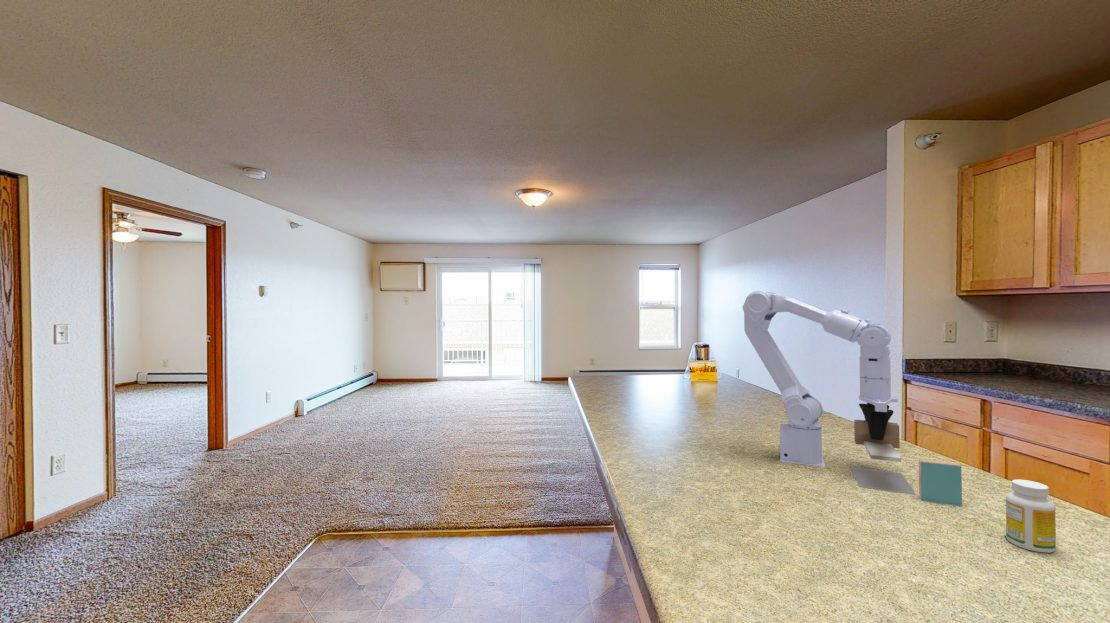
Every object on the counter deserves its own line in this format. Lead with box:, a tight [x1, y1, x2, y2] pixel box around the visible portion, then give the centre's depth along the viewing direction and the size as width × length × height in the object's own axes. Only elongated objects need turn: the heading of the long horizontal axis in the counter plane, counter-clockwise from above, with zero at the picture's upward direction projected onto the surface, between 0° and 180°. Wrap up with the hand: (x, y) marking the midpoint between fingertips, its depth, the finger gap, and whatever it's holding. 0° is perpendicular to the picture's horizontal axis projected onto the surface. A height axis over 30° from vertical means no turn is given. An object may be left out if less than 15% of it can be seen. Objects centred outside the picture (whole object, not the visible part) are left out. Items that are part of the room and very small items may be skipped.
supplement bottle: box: [1005, 478, 1057, 554], centre depth 70 cm, size 5×5×10 cm
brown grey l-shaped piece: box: [853, 419, 902, 463], centre depth 97 cm, size 8×12×5 cm, turn 153°
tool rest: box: [850, 466, 917, 496], centre depth 97 cm, size 10×14×1 cm
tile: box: [918, 458, 963, 507], centre depth 86 cm, size 6×2×8 cm, turn 63°
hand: (875, 437), depth 101 cm, fingers closed on brown grey l-shaped piece, 2 cm apart
